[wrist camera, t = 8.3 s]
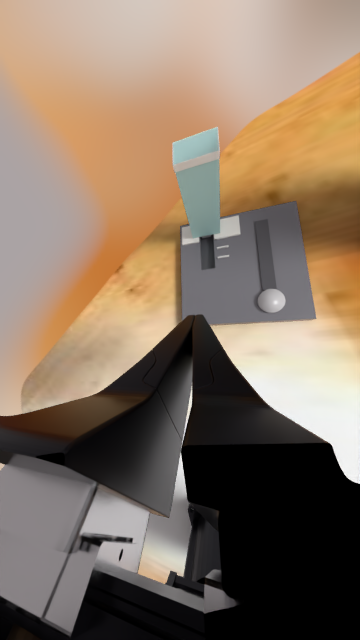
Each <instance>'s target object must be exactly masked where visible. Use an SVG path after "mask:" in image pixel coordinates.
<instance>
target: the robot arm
mask: <svg viewBox="0 0 360 640" xmlns="http://www.w3.org/2000/svg"><path fill="white" fill-rule="evenodd" d="M152 350H153V351H152ZM152 350H151V351H150V352H149V353H148V354H147V355H146V356H144V357H143V358H142V359H141V360H140V361H139V362H138V363H136V364H135V365H134V366H133V367H132V368H130V369H129V370H128V371H127V372H125V373H124V374H123V375H122V376H120V377H119V378H118V379H117V380H115V381H114V382H113V383H112V384H110V385H109V386H108V387H106V388H105V389H104V390H102V391H100V392H99V393H97V394H94V395H92V396H89V397H85V398H82V399H78V400H74V401H70V402H67V403H63V404H59V405H55V406H52V407H48V408H44V409H40V410H37V411H33V412H29V413H24V414H19V415H14V416H0V463H2V464H5V466H4V467H3V468H2V470H1V471H0V640H360V484H358V483H355V482H353V481H351V480H349V479H348V478H347V477H346V476H345V475H344V473H343V471H342V470H341V468H340V466H339V464H338V461H337V459H336V456H335V454H334V451H333V447H332V445H331V444H330V443H328V442H326V441H325V440H323V439H322V438H320V437H318V436H317V435H315V434H313V433H312V432H310V431H308V430H307V429H305V428H304V427H302V426H300V425H299V424H297V423H295V422H294V421H292V420H290V419H289V418H287V417H285V416H284V415H282V414H281V413H279V412H277V411H276V410H274V409H273V408H272V407H270V406H269V405H268V404H267V403H266V402H265V401H264V400H263V399H262V398H261V397H260V396H259V395H258V393H257V392H256V391H255V390H254V389H253V387H252V386H251V385H250V384H249V383H248V381H247V380H246V379H245V378H244V377H243V375H242V374H241V373H240V372H239V370H238V369H237V368H236V367H235V365H234V364H233V363H232V361H231V360H230V358H229V357H228V355H227V354H226V352H225V350H224V349H223V347H222V345H221V344H220V342H219V340H218V339H217V337H216V335H215V334H214V332H213V330H212V329H211V327H210V325H209V324H208V322H207V320H206V319H205V317H204V315H203V314H198V315H196V316H195V315H188V316H187V317H186V318H185V319H184V320H183V321H181V322H180V323H179V324H178V325H177V326H176V327H175V328H174V329H173V330H172V331H171V332H170V333H169V334H168V335H167V336H166V337H165V338H164V339H163V340H161V341H160V342H159V343H158V344H157V345H156V346H155V347H154V348H153V349H152ZM191 386H192V391H193V393H192V407H191V411H190V415H189V419H188V423H187V428H186V432H185V436H184V440H183V434H184V428H185V422H186V416H187V410H188V404H189V398H190V392H191ZM182 440H183V444H182ZM181 446H182V448H181ZM180 452H181V455H182V462H183V469H184V476H185V484H186V492H187V500H188V502H189V503H190V504H189V506H188V513H189V517H190V521H191V526H192V528H191V534H190V540H189V546H188V552H187V558H186V564H185V570H184V576H183V577H181V576H178V575H177V573H176V572H173V571H170V574H169V577H168V580H167V583H165V584H163V583H160V582H158V581H155V580H152V579H150V578H147V577H145V576H142V575H139V574H137V573H138V569H139V564H140V559H141V554H142V549H143V544H144V539H145V534H146V530H147V525H148V520H149V515H150V513H152V514H156V515H160V516H164V517H167V518H169V517H170V511H171V506H172V500H173V494H174V488H175V482H176V476H177V470H178V464H179V458H180ZM191 508H193V509H194V510H192V509H191Z"/></svg>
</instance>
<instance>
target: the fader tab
mask: <svg viewBox="0 0 360 640" xmlns="http://www.w3.org/2000/svg"><path fill="white" fill-rule="evenodd" d="M219 159H220V149H219V135H218V127H215V128H212V129H209V130H207V131H204V132H201V133H199V134H196V135H193V136H190V137H187V138H184V139H182V140H179V141H176V142H173V168H174V172H175V173H176V176H177V180H178V184H179V188H180V192H181V195H182V199H183V203H184V207H185V210H186V214H187V218H188V222H189V225H190V229H191V233H192V236H193V238H197V237H202V239H203V238H208V237H211V235H212V234H217V233H220V182H219Z"/></svg>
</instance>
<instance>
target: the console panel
mask: <svg viewBox="0 0 360 640" xmlns="http://www.w3.org/2000/svg"><path fill="white" fill-rule="evenodd" d="M180 236H181V285H182V321H183V320H184V319H185V318H186V317H187V316H188V315H195V316H196V315H198V314H203V315H204V317H205V319H206V320H207V322H208V324H209V325H226V324H245V323H264V322H284V321H303V320H313V319H316V314H315V308H314V302H313V297H312V291H311V285H310V279H309V273H308V267H307V261H306V256H305V250H304V244H303V238H302V232H301V226H300V220H299V215H298V209H297V203H296V201H293V202H289V203H284V204H279V205H275V206H270V207H266V208H261V209H256V210H252V211H247V212H243V213H238V214H233V215H229V216H224V217H220V233H217V234H212V235H211V237H208V238H203V239H202V237H197V238H193V236H192V233H191V229H190V225H189V224H187V225H183V226H180Z"/></svg>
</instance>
